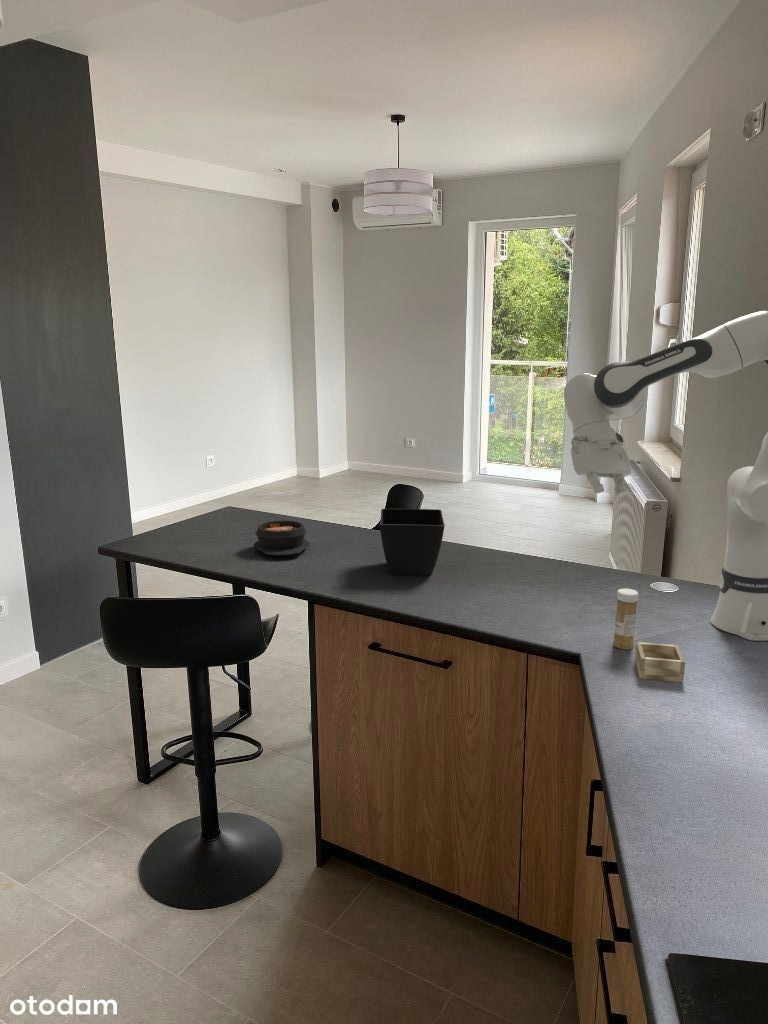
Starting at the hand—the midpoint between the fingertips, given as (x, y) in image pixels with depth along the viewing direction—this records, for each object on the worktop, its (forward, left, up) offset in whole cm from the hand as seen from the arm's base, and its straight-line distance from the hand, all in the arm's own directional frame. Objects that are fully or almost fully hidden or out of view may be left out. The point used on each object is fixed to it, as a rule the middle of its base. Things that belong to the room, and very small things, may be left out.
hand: (610, 493), depth 172 cm
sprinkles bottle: (-4, +12, -34) cm, 36 cm away
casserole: (+100, -45, -34) cm, 115 cm away
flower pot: (+54, -34, -34) cm, 72 cm away
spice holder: (-10, +24, -34) cm, 42 cm away
